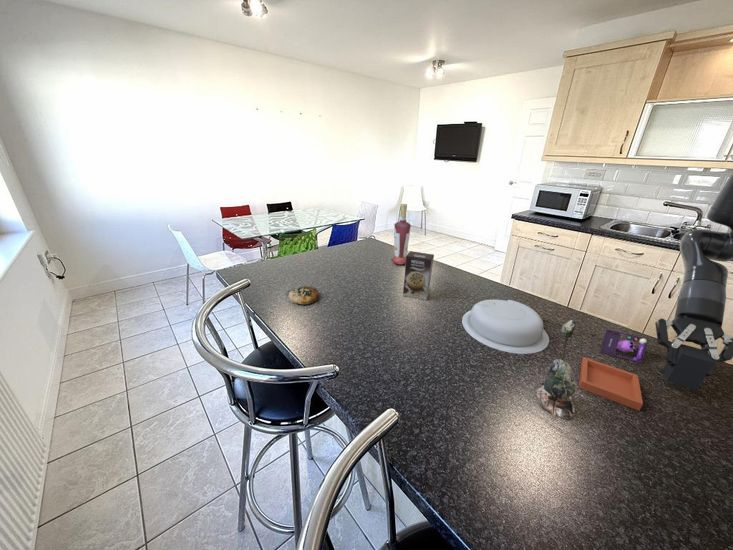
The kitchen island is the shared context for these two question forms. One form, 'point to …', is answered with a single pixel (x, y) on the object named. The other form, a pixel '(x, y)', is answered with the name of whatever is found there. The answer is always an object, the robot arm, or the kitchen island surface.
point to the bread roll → (304, 295)
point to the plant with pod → (559, 383)
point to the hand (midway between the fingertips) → (689, 369)
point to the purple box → (622, 344)
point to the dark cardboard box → (418, 275)
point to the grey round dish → (506, 326)
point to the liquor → (401, 237)
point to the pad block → (689, 367)
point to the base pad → (611, 383)
